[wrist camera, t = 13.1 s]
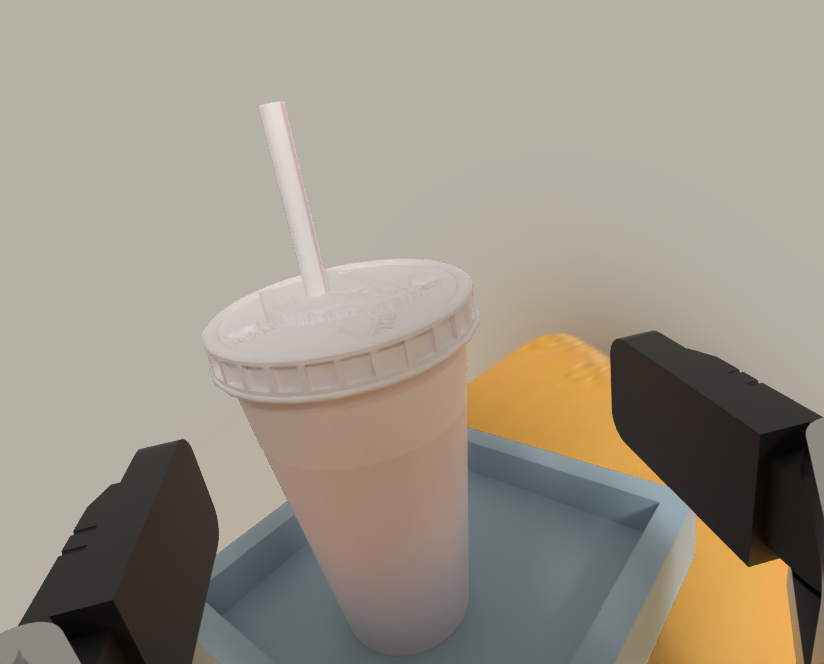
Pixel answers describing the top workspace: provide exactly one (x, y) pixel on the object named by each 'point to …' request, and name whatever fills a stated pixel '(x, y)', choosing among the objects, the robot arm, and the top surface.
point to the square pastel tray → (481, 573)
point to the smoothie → (361, 418)
